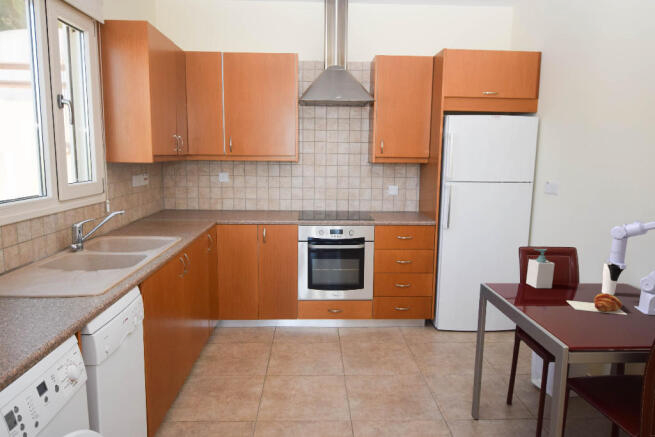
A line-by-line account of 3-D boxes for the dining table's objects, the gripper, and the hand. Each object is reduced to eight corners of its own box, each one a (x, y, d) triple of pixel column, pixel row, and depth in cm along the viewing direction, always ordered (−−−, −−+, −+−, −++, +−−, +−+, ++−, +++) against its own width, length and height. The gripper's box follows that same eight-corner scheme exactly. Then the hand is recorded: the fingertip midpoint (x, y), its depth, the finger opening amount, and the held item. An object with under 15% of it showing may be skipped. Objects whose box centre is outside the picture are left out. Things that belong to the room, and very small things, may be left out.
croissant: (607, 309, 199) (600, 292, 201) (631, 304, 192) (624, 287, 194) (590, 317, 185) (582, 299, 187) (615, 313, 178) (607, 294, 180)
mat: (627, 314, 183) (627, 314, 183) (575, 309, 187) (575, 309, 187) (614, 305, 194) (614, 305, 194) (566, 300, 198) (566, 300, 198)
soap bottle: (525, 283, 225) (529, 247, 222) (541, 283, 226) (545, 247, 223) (535, 288, 216) (539, 250, 214) (551, 288, 218) (556, 251, 215)
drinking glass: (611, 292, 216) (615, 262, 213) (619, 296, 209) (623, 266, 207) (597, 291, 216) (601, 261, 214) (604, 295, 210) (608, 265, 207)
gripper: (601, 248, 207) (597, 275, 209) (615, 254, 193) (611, 284, 195) (618, 249, 206) (614, 277, 208) (633, 255, 192) (628, 285, 193)
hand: (613, 280), depth 201 cm, fingers closed
